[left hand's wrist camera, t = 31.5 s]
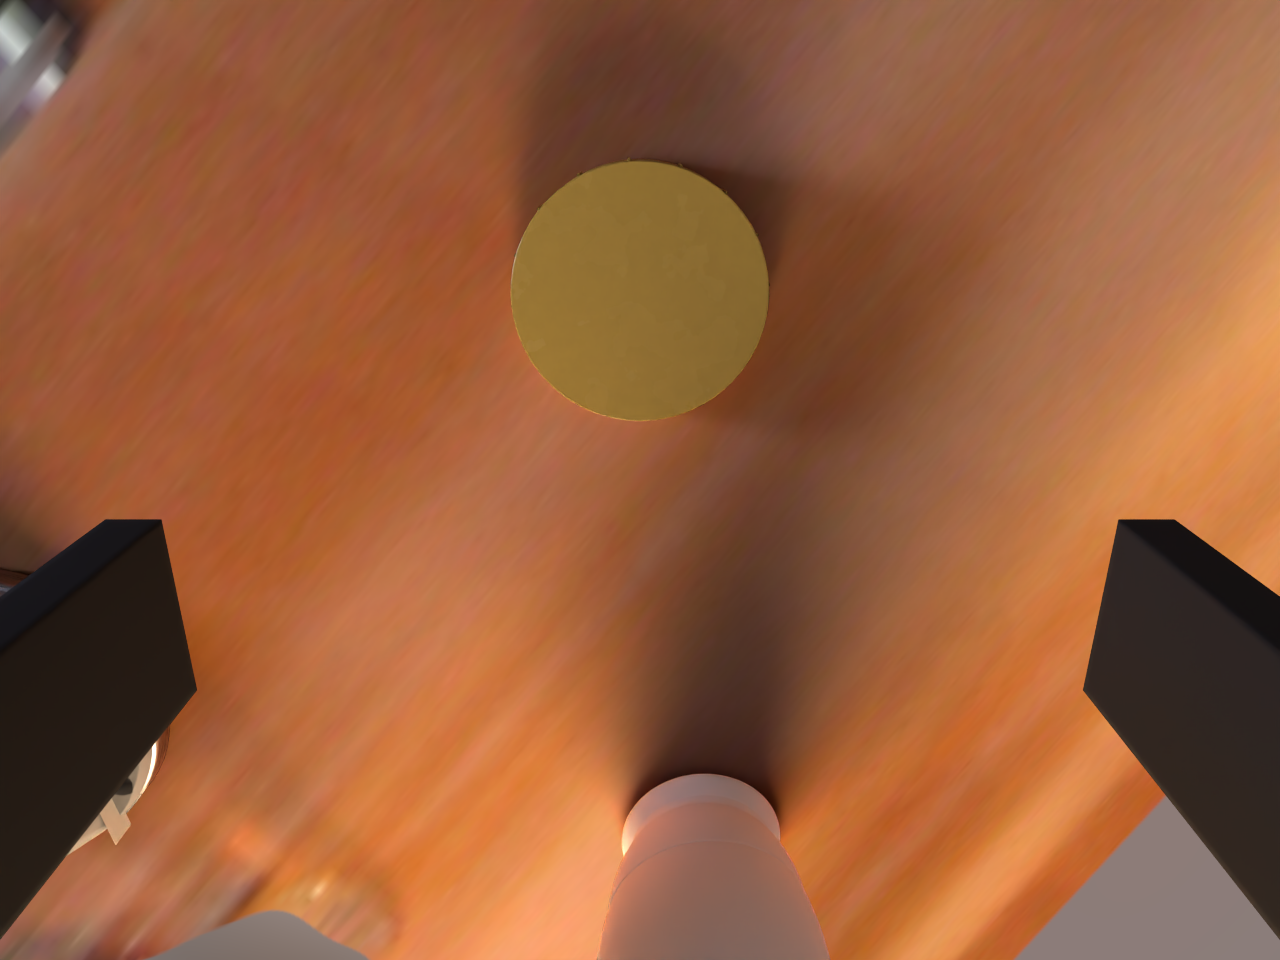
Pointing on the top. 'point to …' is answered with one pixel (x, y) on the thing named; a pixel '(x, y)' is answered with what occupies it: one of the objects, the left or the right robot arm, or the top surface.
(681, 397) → the lid
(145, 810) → the top surface
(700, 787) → the jar
